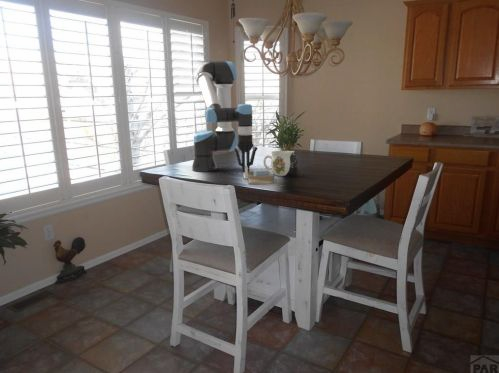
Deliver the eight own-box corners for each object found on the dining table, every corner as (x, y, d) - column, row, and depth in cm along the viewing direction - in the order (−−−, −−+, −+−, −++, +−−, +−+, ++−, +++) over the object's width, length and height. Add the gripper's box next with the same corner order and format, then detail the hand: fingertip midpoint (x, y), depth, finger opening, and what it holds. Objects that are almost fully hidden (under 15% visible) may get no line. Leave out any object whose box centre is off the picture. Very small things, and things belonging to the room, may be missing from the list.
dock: (243, 178, 221) (243, 171, 220) (266, 177, 224) (266, 170, 223) (249, 184, 206) (249, 176, 205) (274, 182, 209) (274, 175, 208)
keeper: (253, 179, 218) (253, 169, 216) (265, 179, 219) (265, 168, 218) (256, 182, 211) (256, 171, 210) (269, 181, 213) (269, 170, 211)
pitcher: (265, 172, 237) (265, 149, 234) (295, 173, 233) (295, 150, 229) (261, 176, 226) (261, 152, 223) (293, 177, 222) (293, 152, 219)
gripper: (234, 135, 203) (235, 180, 208) (259, 134, 206) (259, 178, 211) (231, 134, 210) (232, 177, 215) (255, 133, 213) (255, 176, 218)
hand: (245, 178), depth 213 cm, fingers closed
